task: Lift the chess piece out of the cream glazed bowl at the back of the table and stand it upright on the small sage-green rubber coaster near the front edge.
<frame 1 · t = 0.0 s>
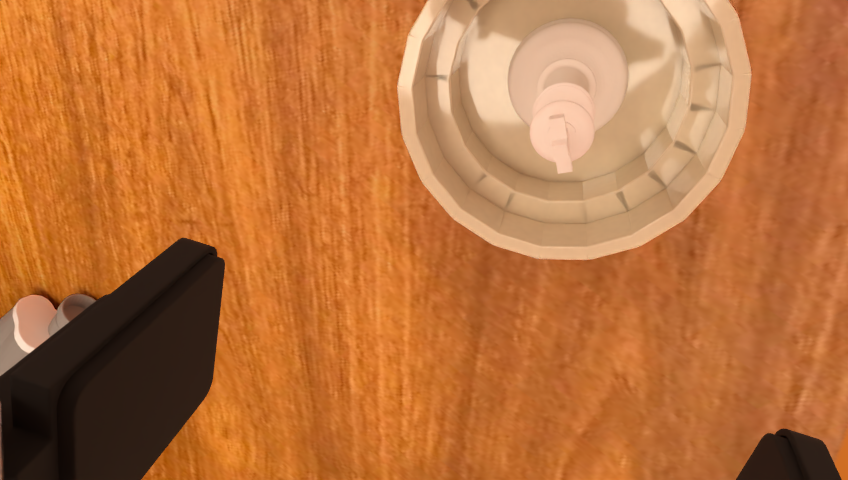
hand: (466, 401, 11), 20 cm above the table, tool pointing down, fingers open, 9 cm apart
chess piece: (567, 78, 29), resting on bowl
bowl: (567, 78, 29), on the table
binoculars: (100, 360, 42), on the table
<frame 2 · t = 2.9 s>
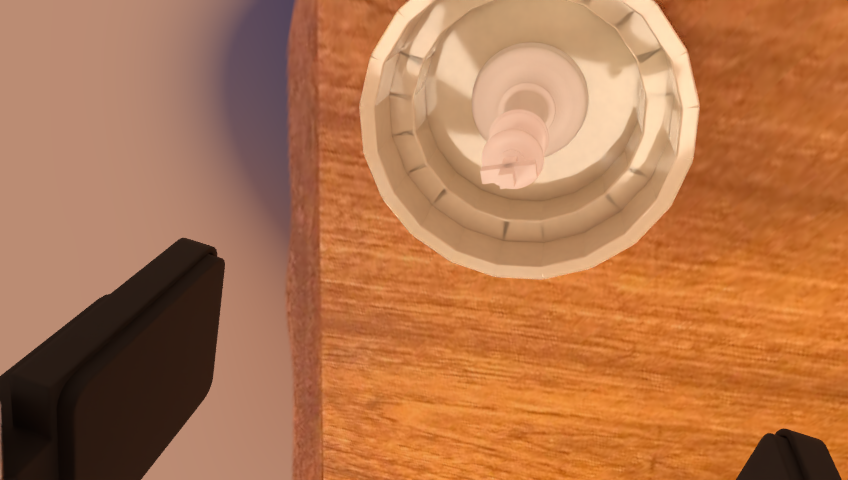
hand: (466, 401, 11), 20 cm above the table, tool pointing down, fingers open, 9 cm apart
chess piece: (529, 100, 29), resting on bowl
bowl: (529, 99, 29), on the table
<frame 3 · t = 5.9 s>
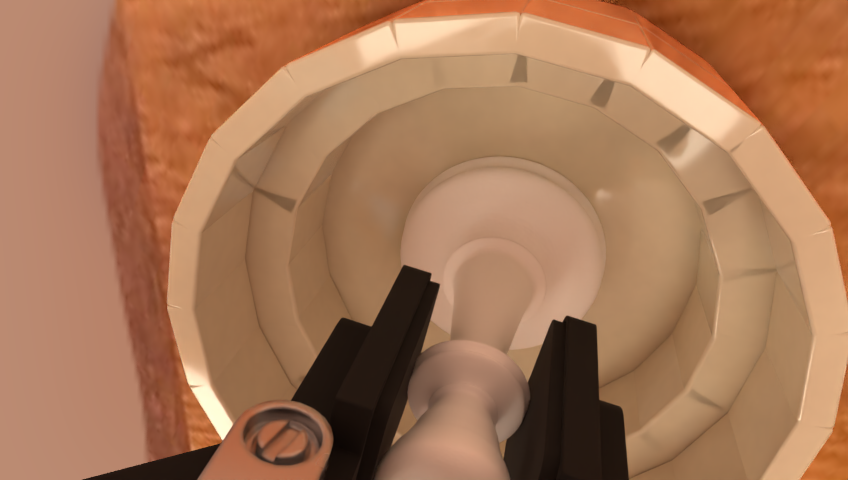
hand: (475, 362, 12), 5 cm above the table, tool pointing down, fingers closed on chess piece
chess piece: (502, 248, 17), resting on bowl, touching gripper
bowl: (502, 246, 17), on the table
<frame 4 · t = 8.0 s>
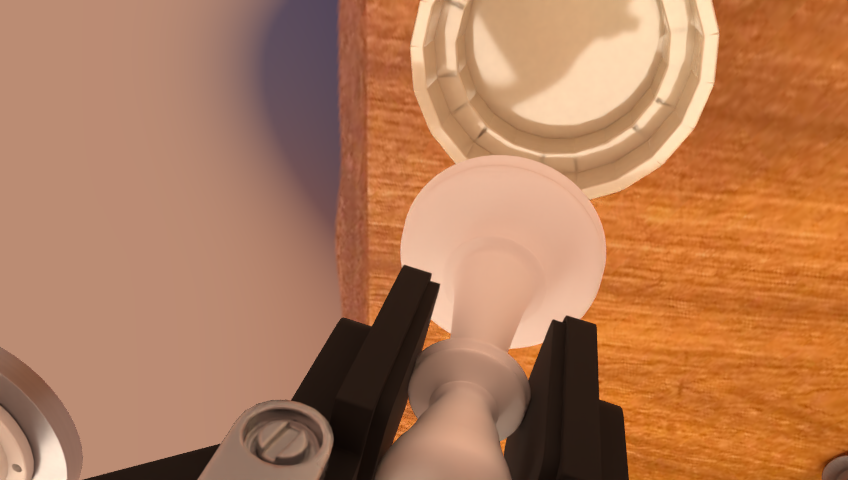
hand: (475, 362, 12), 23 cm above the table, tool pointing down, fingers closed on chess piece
chess piece: (502, 247, 17), point 18 cm above the table, touching gripper
bowl: (561, 43, 32), on the table
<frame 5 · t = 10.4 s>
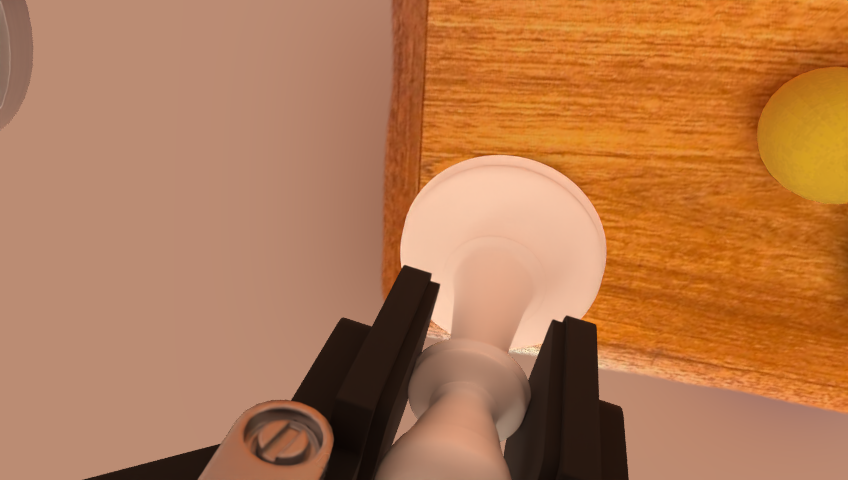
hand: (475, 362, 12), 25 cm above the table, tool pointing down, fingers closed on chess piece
chess piece: (502, 247, 17), point 20 cm above the table, touching gripper
lemon: (803, 110, 33), on the table
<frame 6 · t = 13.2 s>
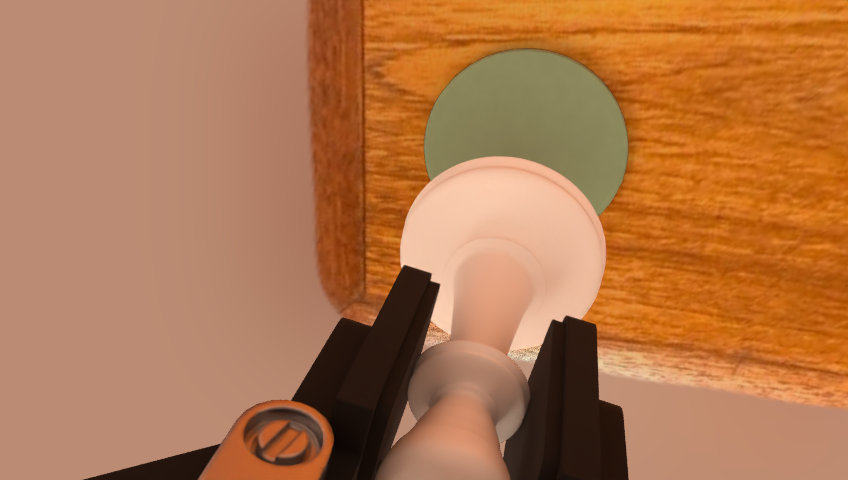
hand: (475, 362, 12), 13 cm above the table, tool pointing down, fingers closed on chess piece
chess piece: (502, 248, 17), point 8 cm above the table, touching gripper
coaster: (523, 150, 24), on the table
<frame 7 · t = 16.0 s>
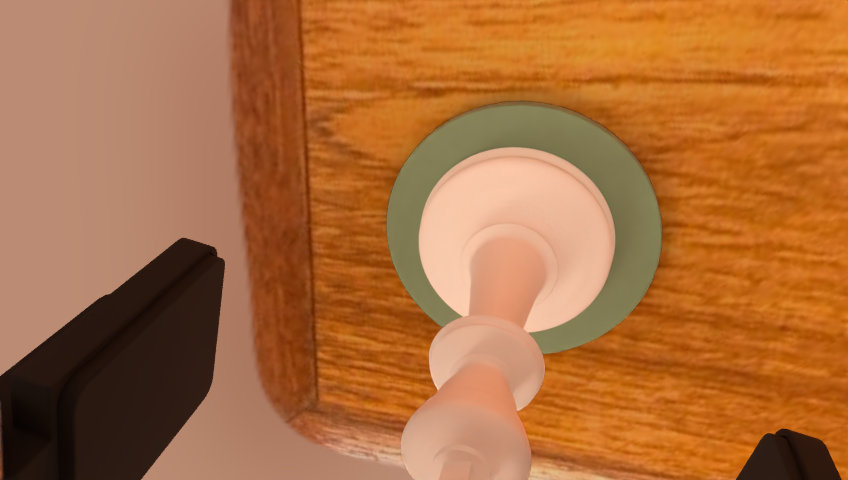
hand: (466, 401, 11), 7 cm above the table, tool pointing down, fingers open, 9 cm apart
chess piece: (515, 236, 18), resting on coaster
coaster: (519, 233, 18), on the table
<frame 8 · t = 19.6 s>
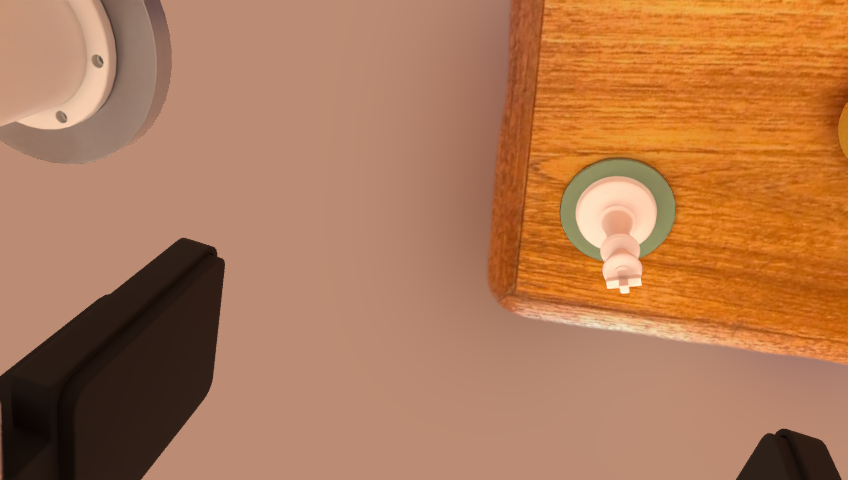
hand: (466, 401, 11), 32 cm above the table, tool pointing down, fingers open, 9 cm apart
chess piece: (615, 211, 43), resting on coaster
coaster: (616, 210, 43), on the table
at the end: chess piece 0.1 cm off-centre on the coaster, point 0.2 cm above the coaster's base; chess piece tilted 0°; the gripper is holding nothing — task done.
